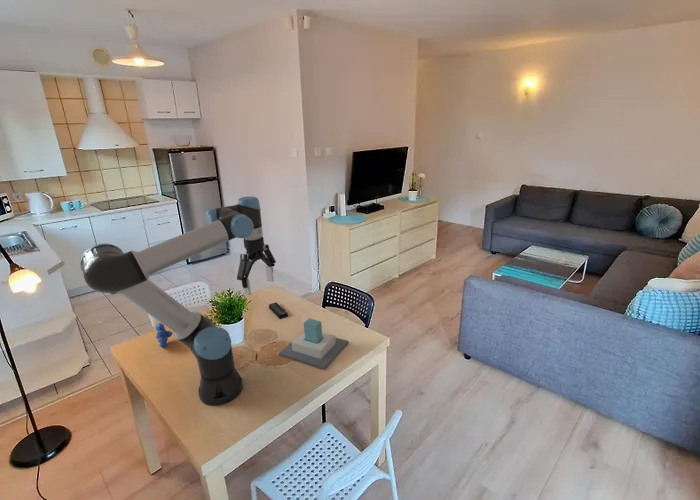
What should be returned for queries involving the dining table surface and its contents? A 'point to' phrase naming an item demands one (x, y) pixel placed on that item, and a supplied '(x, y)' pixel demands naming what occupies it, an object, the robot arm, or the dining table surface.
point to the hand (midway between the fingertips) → (259, 287)
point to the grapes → (162, 335)
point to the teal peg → (313, 331)
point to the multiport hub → (278, 310)
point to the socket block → (314, 350)
